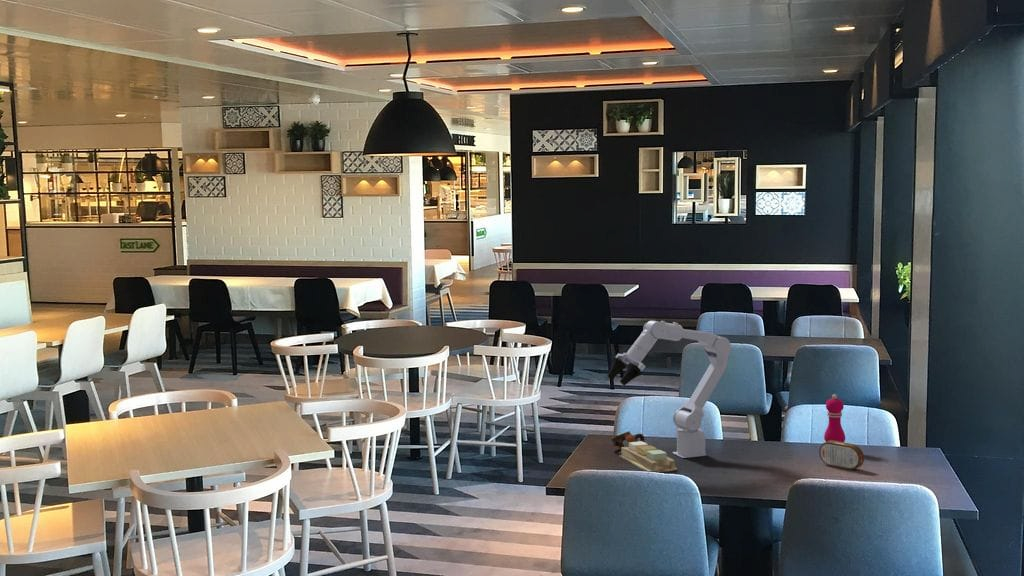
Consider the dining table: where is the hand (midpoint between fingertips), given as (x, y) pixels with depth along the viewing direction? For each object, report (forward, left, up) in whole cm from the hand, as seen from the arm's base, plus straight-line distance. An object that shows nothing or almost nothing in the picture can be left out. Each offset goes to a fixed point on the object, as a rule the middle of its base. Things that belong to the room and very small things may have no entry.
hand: (615, 380), depth 340 cm
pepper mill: (-79, +13, -29) cm, 85 cm away
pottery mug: (-11, -15, -29) cm, 34 cm away
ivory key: (-10, -3, -26) cm, 28 cm away
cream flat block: (-10, +4, -26) cm, 28 cm away
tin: (-66, +34, -29) cm, 79 cm away
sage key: (-10, +11, -26) cm, 29 cm away
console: (-10, +4, -29) cm, 30 cm away
